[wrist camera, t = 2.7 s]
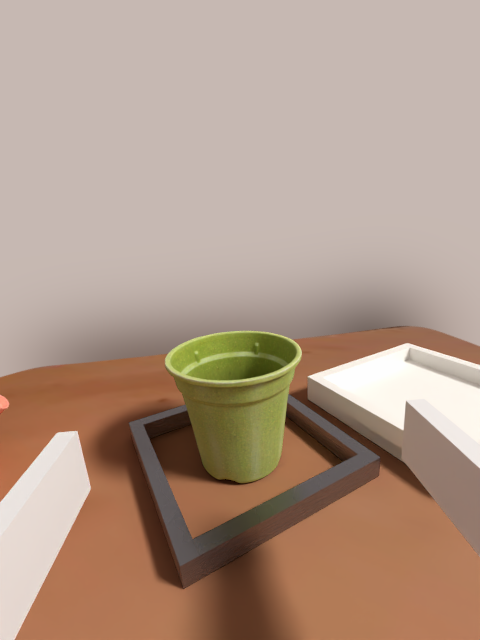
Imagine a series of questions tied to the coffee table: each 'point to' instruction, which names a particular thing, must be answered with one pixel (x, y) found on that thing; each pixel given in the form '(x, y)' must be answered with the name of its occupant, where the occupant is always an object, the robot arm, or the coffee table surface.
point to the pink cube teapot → (3, 403)
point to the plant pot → (236, 398)
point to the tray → (398, 392)
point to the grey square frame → (262, 520)
